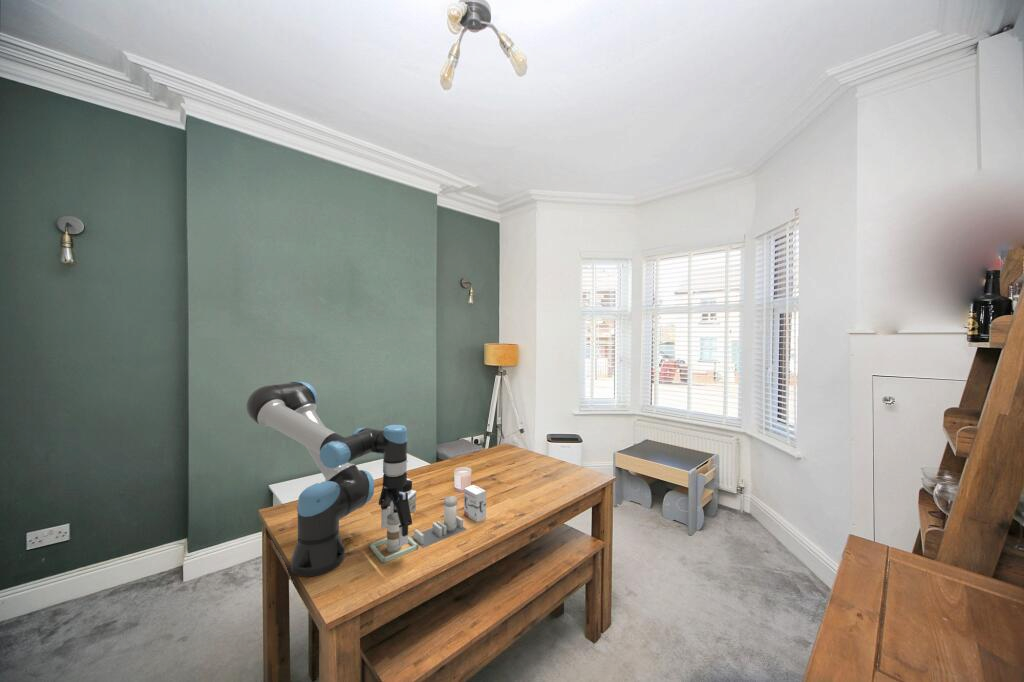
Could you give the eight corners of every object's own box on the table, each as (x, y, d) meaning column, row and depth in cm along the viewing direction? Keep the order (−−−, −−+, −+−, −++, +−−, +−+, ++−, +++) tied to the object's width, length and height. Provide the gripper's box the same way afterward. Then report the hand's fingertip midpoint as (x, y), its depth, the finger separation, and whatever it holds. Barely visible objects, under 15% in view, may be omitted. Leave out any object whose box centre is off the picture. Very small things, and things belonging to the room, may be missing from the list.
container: (407, 517, 146) (408, 485, 146) (389, 515, 147) (390, 483, 147) (416, 508, 153) (416, 477, 153) (399, 506, 155) (399, 475, 155)
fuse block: (423, 550, 124) (423, 538, 124) (410, 539, 131) (410, 528, 131) (467, 532, 136) (467, 521, 136) (453, 522, 143) (453, 512, 143)
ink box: (463, 516, 147) (463, 487, 147) (472, 512, 151) (473, 483, 151) (476, 525, 141) (477, 494, 141) (486, 520, 145) (487, 490, 145)
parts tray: (383, 566, 116) (383, 559, 115) (369, 550, 124) (369, 544, 124) (418, 551, 124) (418, 545, 124) (403, 537, 132) (403, 531, 132)
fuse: (447, 533, 133) (448, 503, 133) (440, 528, 137) (441, 498, 137) (459, 528, 136) (459, 499, 136) (451, 523, 140) (452, 495, 140)
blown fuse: (390, 554, 120) (390, 521, 120) (383, 548, 124) (384, 515, 123) (403, 549, 123) (404, 516, 123) (397, 542, 127) (398, 511, 127)
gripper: (423, 481, 116) (422, 547, 117) (389, 460, 135) (389, 517, 135) (401, 487, 111) (400, 557, 112) (369, 464, 130) (368, 524, 130)
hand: (394, 535), depth 123 cm, fingers open, 13 cm apart
